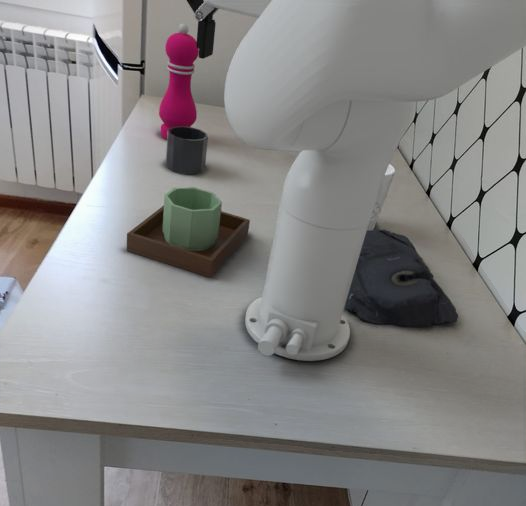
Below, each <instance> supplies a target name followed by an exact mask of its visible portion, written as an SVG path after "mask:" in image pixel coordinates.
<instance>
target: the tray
mask: <svg viewBox="0 0 526 506" xmlns="http://www.w3.org/2000/svg"><path fill="white" fill-rule="evenodd" d="M163 214H164V205H162V206H161V207H160V208H158V209H157V210H156V211H155V212H153V213H152V214H151V215H149V216H148V217H147V218H145V219H143V221H141V222H140V223H139V224H138V225H136V226H135V227H134V228H132V229H131V230H130V231H129V232H126V251H127V252H130V253H133V254H136V255H138V256H142V257H145V258H148V259H151V260H154V261H158V262H161V263H163V264H167V265H169V266H173V267H176V268H179V269H182V270H185V271H188V272H192V273H194V274H198V275H200V276H204V277H207V278H212V276H213V275H214V274H215V273H216V272H217V271H218V270H219V268H220V267H221V266H223V264H224V263H225V262H226V261H227V259H228V258H229V257H230V256H231V255H232V254H233V252H235V250H236V249H237V248H238V247H239V246H240V245H241V244H242V242H243V241H244V240H246V238H247V237H248V234H249V230H250V229H249V228H250V224H251V223H250V222H251V220H250V219H248V218H245V217H242V216H238V215H235V214H232V213H229V212H225V211H222V210H221V215H220V223H219V231H218V238H217V239H216V240H215V244H214V245H213V246H212V247H211V248H209V249H206V250H202V251H188V250H185V249H182V248H179V247H175V246H172V245H170V244H169V243H167V241H166V240H165V238H164V233H163V232H162V231H163Z"/></svg>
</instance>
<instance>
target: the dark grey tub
mask: <svg viewBox="0 0 526 506" xmlns="http://www.w3.org/2000/svg"><path fill="white" fill-rule="evenodd" d="M208 141H209V135H208V133H207V132H206V131H204V130H202V129H199V128H197V127H193V126H191V127H186V126H177V127H171V128H170V129H168V132H167V139H166V151H165V166H166V168H167V169H168V170H170V171H171V172H174V173H177V174H181V175H188V176H189V175H190V176H191V175H199V174H202V173H203V172H204V171H205V169H206V164H207V163H206V162H207V151H208V144H209V143H208Z"/></svg>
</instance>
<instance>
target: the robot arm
mask: <svg viewBox="0 0 526 506" xmlns="http://www.w3.org/2000/svg"><path fill="white" fill-rule="evenodd" d="M186 2H187V4H188V5H189V8H191V10H192V12H193V13H194V18H195V20H196V21H197V30H196V31H197V33H196V41H197V43H196V46H197V48H198V49H199V54H198V58H199V59H202V60H204V59H206V58H208V57H211V56H213V54H214V45H215V44H214V43H215V35H216V21H215V19H214V15H215V14H216V13H217V12H218V11H219V10H222V11H227V12H231V13H236V14H239V15H243V16H248V17H252V18H257V19H256V20H255V22H254V23H253V25H252V26H251V27H250V28H249V30H248V31H247V33H246V34H245V35H244V36H243V38H242V40H241V41H240V43H239V45H238V46H237V48H236V50H235V52H234V54H233V57H232V59H231V61H230V64H229V66H228V70H227V72H226V73H227V74H226V78H225V83H224V93H223V95H224V96H223V100H224V101H223V102H224V109H225V115H226V118H227V120H228V123H229V126H230V127H231V130H232V131H233V133H235V134H236V136H237V137H238V138H239V140H241V141H242V142H243V143H244V144H245V145H248V146H250V147H251V148H254V149H258V150H263V151H275V152H276V151H280V152H289V151H290V152H291V151H293V152H294V151H295V152H297V151H299V154H298V155H297V156H296V158H295V160H293V164H292V165H291V166H290V168H289V170H288V173H287V175H286V177H285V180H284V183H283V187H282V190H281V195H280V199H279V204H278V205H279V206H278V212H277V216H276V221H275V227H274V232H273V237H272V243H271V249H270V253H269V258H268V265H267V270H266V275H265V281H264V287H263V291H262V296H260V297H258V298H256V299H254V300H253V301H251V302H250V304H249V305H248V307H247V309H246V312H245V316H244V317H245V319H244V325H245V328H246V330H247V333H248V334H249V336H250V337H251V338H252V340H253V341H254V342H255V343H257V349H258V352H259V353H260V354H261V355H263V356H265V357H269V356H272V355H274V354H275V355H278V356H279V357H284V358H285V359H290V360H295V361H303V362H315V361H323V360H327V359H331V358H333V357H335V356H338V355H339V354H340V353H342V352H343V351H344V350H345V349H346V347H347V345H348V343H349V340H350V337H351V336H350V334H351V329H350V325H349V322H348V321H347V319H346V318H345V315H343V313H344V311H345V308H344V307H345V303H346V300H347V296H348V293H349V290H350V286H351V283H352V279H353V276H354V272H355V269H356V266H357V262H358V259H359V255H360V252H361V248H362V245H363V242H364V238H365V235H366V231H367V228H368V224H369V221H370V219H371V215H372V212H373V209H374V205H375V202H376V199H377V195H378V192H379V189H380V186H381V183H382V181H383V178H384V175H385V173H386V170H387V168H388V166H389V164H390V163H391V161H392V159H393V157H394V155H395V153H396V151H397V149H398V147H399V145H400V143H401V142H402V140H403V137H404V136H405V134H406V132H407V130H408V127H409V126H410V123H411V120H412V117H413V115H414V111H415V108H416V105H417V102H426V101H427V102H428V101H432V100H436V99H439V98H442V97H445V96H447V95H448V94H450V93H452V92H454V91H455V90H457V89H458V88H460V87H463V86H464V85H465V84H466V83H468V82H469V81H471V80H473V79H474V78H476V77H478V76H479V75H481V74H483V73H484V72H486V71H487V70H489V69H491V68H492V67H494V66H495V65H497V64H499V63H500V62H502V61H503V60H506V59H507V58H509V57H510V56H512V55H513V54H515V53H517V52H518V51H520V50H522V49H523V48H525V47H526V0H186Z"/></svg>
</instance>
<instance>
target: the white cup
mask: <svg viewBox="0 0 526 506" xmlns="http://www.w3.org/2000/svg"><path fill="white" fill-rule="evenodd" d="M395 172H396V169H395V167H394V166H393V165H392V164H390V163H389V166H388V168H387V170H386V173H385V175H384V178H383V181H382V183H381V186H380V189H379V192H378V195H377V199H376V202H375V205H374V209H373V212H372V215H371V219H370V221H369V224H368V228H367V231H370V230H375V227H376V224H377V221H378V218H379V215H380V214H381V212H382V209H383V206H384V203H385V200H386V198H387V196H388V192H389V189H390V188H391V184H392V181H393V178H394V175H395Z"/></svg>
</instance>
